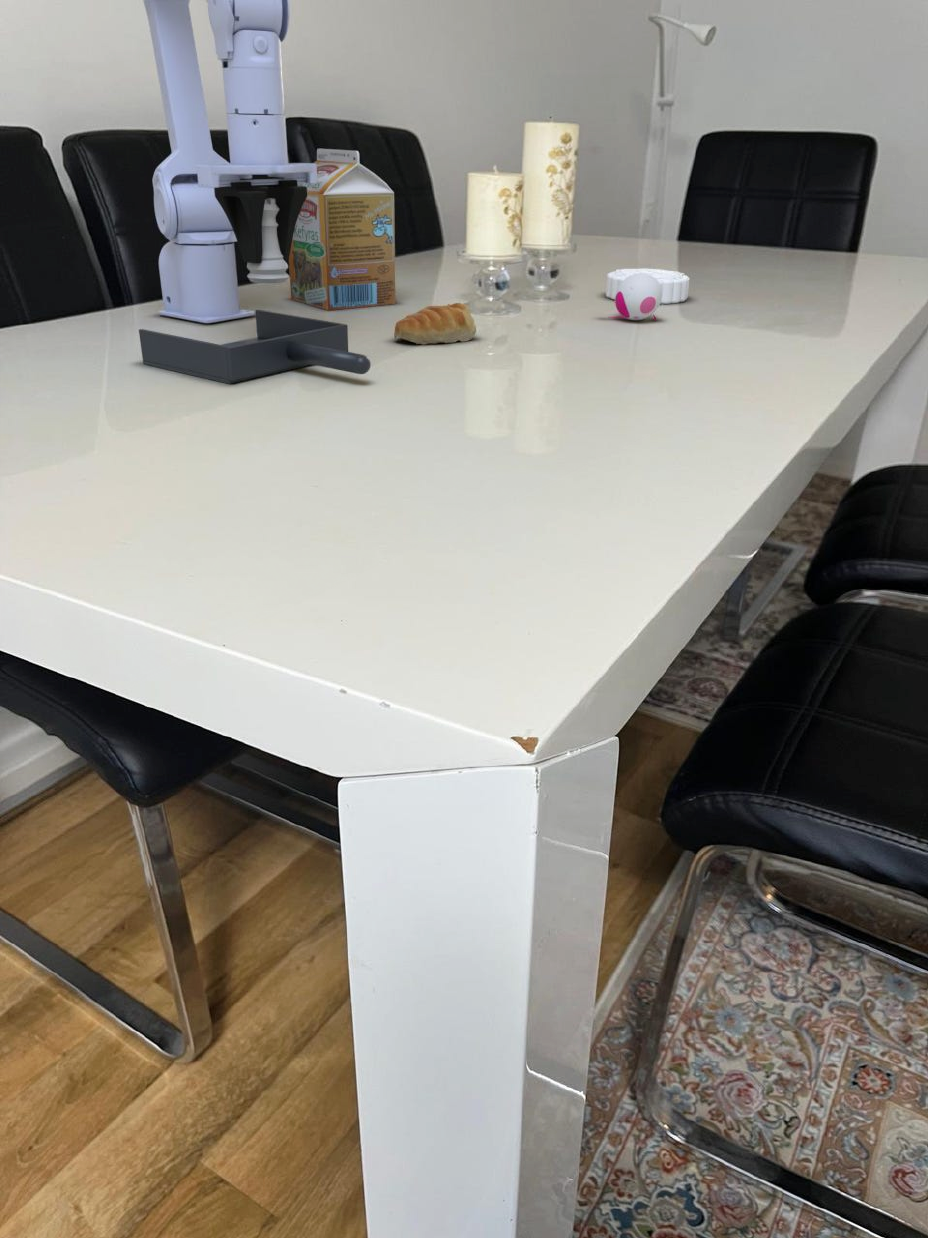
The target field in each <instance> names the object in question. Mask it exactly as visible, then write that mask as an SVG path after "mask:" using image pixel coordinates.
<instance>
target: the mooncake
mask: <svg viewBox="0 0 928 1238" xmlns="http://www.w3.org/2000/svg"><path fill="white" fill-rule="evenodd" d="M637 273H645V274H649V275H651V276H653V277H654V278H655V279H656V280H657V281H658V282H659V284H660V286H661V289H662V299H661V302H660V305H670V304H679V303H683V302H685V301H686V300H688V299H689V290H690V284H691V283H690V281H691V278H690V277H689V276H688V275H685V273H684V272H680V271H676V270H667V269H661V268H647V267H643V268H621V269H615V271H610V272H609V273H607V275H606V282H605V296H606V298H608V299H611V300H614V301H615V294H616V290H617V288H618V286H619V285H620V284H621V282H622V281H623V280H624V279H626V278H627V277H629V276H631V275H633V274H637Z"/></svg>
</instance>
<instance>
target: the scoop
mask: <svg viewBox="0 0 928 1238" xmlns="http://www.w3.org/2000/svg"><path fill="white" fill-rule="evenodd" d="M254 312H255V324H256V337H253V338H248V339H243V340H237V341H232V342H228V343H221V344H220V343H219V344H218V343H215V342H208V341H204V340H199V339H193V338H190V337H189V338H188V337H184V336H179V335H174V334H169V333H164V332H159V331H154V330H149V329H145V328H139V329H138V334H139V342H140V350H141V356H142V357H141V358H142V364H143V365H146V366H150V367H155V368H160V369H164V370H168V371H172V372H177V373H182V374H186V375H189V376H194V377H198V378H202V379H207V380H210V381H216V382H220V383H224V384H228V385H231V384H236V383H239V382H243V381H249V380H253V379H257V378H260V377H261V378H262V377H265V376H270V375H274V374H278V373H282V372H286V371H291V370H294V369H299V368H304V367H307V366H317V367H322V368H327V369H333V370H336V371H337V370H338V371H342V372H348V373H353V374H357V375H365V374H367V373H368V372H369V371H370V370H371V365H372V364H371V360H370V359H369V357H368V356H367V355H365V354H361V353H357V352H356V353H355V352H349V330H348V329H349V328H348V324H346V323H341V322H334V321H330V320H329V321H328V320H323V319H317V318H310V317H305V316H299V315H293V314H287V313H281V312H276V311H269V310H263V309H255V310H254Z"/></svg>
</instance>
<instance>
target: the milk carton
mask: <svg viewBox="0 0 928 1238" xmlns="http://www.w3.org/2000/svg"><path fill="white" fill-rule="evenodd" d="M312 163H313V164H317V183H313V184H309V183H298V184H297V185H298V186H305V187H307V198H306V200H305V202H304V204H303V206H302V208H301V210H300V213H299V216H298V219H297V222H296V225H295V229H294V234H293V239H292V244H291V250H290V256H289V260H288V269H289V285H290V299H291V300H292V301H296V302H298V303H303V304H304V305H310V306H312V307H316V308H319V309H322V310H325V311H327V312H328V311H337V310H348V309H349V310H350V309H359V308H369V307H378V306H388V305H390V306H391V305H396V247H395V246H396V243H395V242H396V241H395V240H396V239H395V235H396V233H395V230H396V229H395V192H394V190H392V188H390V186H389V185H388V184H387V182H385V181H384V180H383V179H382V178H381V177H380V176H378V175H377V174H376V173H375V172H374V171H371V170H370V169H369V168H367V167H366V166H364V165H363V164H361V163H360V152H359V151H358V150H350V149H349V150H347V149H333V148H317V149H316V160H315V161H314V162H312Z"/></svg>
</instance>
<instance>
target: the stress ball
mask: <svg viewBox="0 0 928 1238" xmlns="http://www.w3.org/2000/svg"><path fill="white" fill-rule="evenodd" d="M661 299H662V289H661V286H660V284H659V282H658V281H657V280H656V279H655V278H654V277H653V276H651V275H649V274H645V273H637V274H633V275H631V276H629V277H627V278H626V279H624V280H623V281H622V282H621V284H620V285H619V286H618V288H617V290H616V294H615V300H614V305H615V308H616V310H617V312H618V313H619V315H621V316H609V318H612V319H613V318H615V319H627V320H629V321H642V320H644V319H647V318H649V317H651V316H653V320H654V321H656V322H658V318H657V317H656V316H655V315H654V313H655V312H656V311H657V310H658V308H659V307H660V305H661V304H660V302H661Z"/></svg>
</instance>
